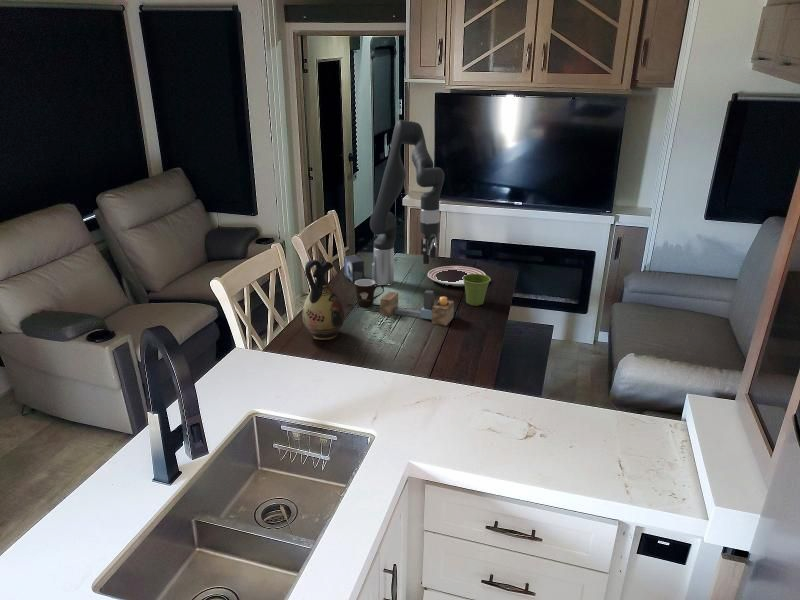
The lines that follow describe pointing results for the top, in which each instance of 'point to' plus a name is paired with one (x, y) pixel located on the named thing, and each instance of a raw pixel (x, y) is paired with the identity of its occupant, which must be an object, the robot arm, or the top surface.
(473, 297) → the plant pot
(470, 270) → the dinner plate
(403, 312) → the stand
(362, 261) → the small box
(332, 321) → the ceramic jug
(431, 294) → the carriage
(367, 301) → the coffee mug
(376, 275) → the robot arm
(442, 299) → the button
